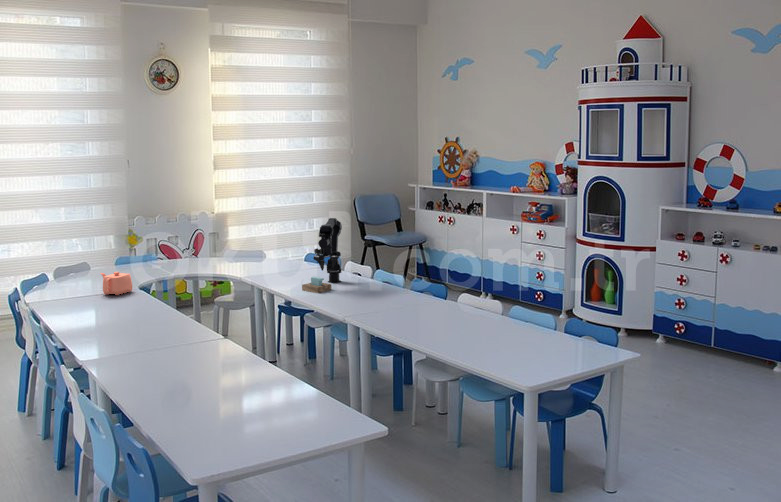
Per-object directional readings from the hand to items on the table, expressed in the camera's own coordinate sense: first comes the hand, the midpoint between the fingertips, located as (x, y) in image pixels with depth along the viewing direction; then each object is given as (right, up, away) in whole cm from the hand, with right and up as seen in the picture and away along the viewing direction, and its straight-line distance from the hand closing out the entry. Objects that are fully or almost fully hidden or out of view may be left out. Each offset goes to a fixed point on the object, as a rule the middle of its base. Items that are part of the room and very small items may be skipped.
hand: (327, 269), depth 490 cm
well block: (-7, -13, -4) cm, 15 cm away
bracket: (-7, -13, -4) cm, 15 cm away
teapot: (-135, -15, -2) cm, 136 cm away
